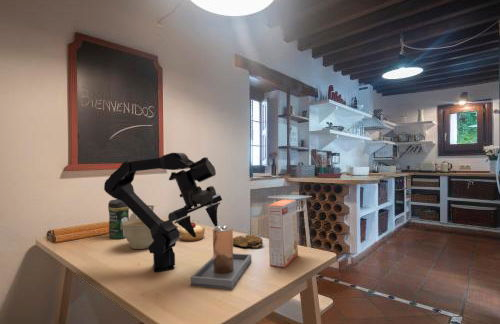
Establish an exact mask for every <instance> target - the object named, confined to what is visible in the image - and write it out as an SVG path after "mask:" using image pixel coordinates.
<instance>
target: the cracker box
mask: <svg viewBox="0 0 500 324" xmlns="http://www.w3.org/2000/svg"><path fill="white" fill-rule="evenodd" d="M297 217H298V216H297V199H285V198H284V199H281V200H278V201H276V202H273V203H270V204H268V205H267V220H268V221H267V223H268V225H267V227H268V251H269V266H271V267H277V268H286V267H287V266H288V265H289V264H290V263H291V262H292V261H294V259H295V258H296V257H297V256H298V255H299V247H298V221H297V220H298V219H297Z"/></svg>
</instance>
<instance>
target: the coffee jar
mask: <svg viewBox="0 0 500 324" xmlns="http://www.w3.org/2000/svg"><path fill="white" fill-rule="evenodd" d="M107 206H108V207H107V209H108V215H109V216H108V217H109V219H108V222H109V223H108V237H109V238H112V239H114V240H119V239H120V240H121V239H126V237H125V235H124V231H123V225H122V223H123V222H125V221H128V220H130V218H129V217H130V216H129V213H130V212H129V211H130V209H129V208H128V207H127V206H126V204H125V203H124V202H122V201H120V200H118V199H116V198H114V199H111V200H109V201H108V205H107Z"/></svg>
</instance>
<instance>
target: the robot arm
mask: <svg viewBox="0 0 500 324" xmlns="http://www.w3.org/2000/svg"><path fill="white" fill-rule="evenodd" d="M158 169H160V170H166V171H167V170H171V171H172V172H171V174H170V176H169V178H168V181H175V182H176V184H177V186H178V189H179V191H180V194H179V198H182V199H183V201H184V203H185V205H184V206H183V207H181V208H178V209H176V210H173V211H171V212H169V213H168V217H167V220H163V219H162V218H160V216H158V215H157V214H156V212H154V211H153V210H152V209H151V208H150V207H149V206H148V204H146V203H145V202H144V201H143V200H142V199H141V198H140V196H138V194H137V193H136V192H135V190H134V185H133V184H132V183H133V181H134V179H135V175H136V173H137V172H141V171H142V172H143V171H148V170H149V171H152V170H158ZM187 169H188V170H187ZM178 170H180V171H178ZM173 171H174V172H173ZM175 171H178V172H175ZM216 173H217V172H216V168H215V166H214V165H213V164H212V163H211V161H210V160H209V158H208V157H206V156H205V157H203V158H200V160H197V161H195V162H194V161H193V160H191V159H189V157H188V155H187V154H186V153H184V152H171V153H167V154H163V155H162V156H159V157H156V158H148V159H140V160H139V159H138V160H133V161H132V160H130V161H129V160H125V161H124V162H122V163H121V165H120V166H119V167H118V168H117V169H116V170H115V171H114V172H112V174H111V175H109V177H108V178H107V179H106V180H105V181H104V187H103V190H104V191H105V193H106V194H107V195H109V196H110V197H112V198H114V199H118V200H120V201H122V202H124V203H125V204H126V206H127V207H128V208H129V211H130V210H131V212H132V213H133V214H134V215H135V216H136V217H137V219H140V220H141V221H142V222H143V223H144V224H145V225H146V226H147V227H148V228H149V229H150V232H151V236H152V238H153V240H154V241H153V242H152V244H151V245H150V246H149V247H148V248H147V249H148V251H149V254H152V256H153V257H152V262H153V264H152V268H153V272H154V273H158V272H162V271H163V272H164V271H168V270H173V269H175V265H176V255H175V254H176V253H175V251H174V247H176V245H177V242H178V241H179V239H180V234H179V233H180V232H179V231H180V229H179V228H178V227H179V226H180V227H183V228H184V229H185V230H186V231H187V232H188V233H190V234H191V235H192V236H193V237H196V234H195V231H194V228H193V226H192V224H191V222H192V221H191V215H189V214H190V213H192V212H194V211H197V210H199V209H202V208H204V207H205V211H206V213H207V216H208V217H209V218H210V221H211V223H212V224H213V226H214V228H216V227H218V226H219V225H218V207H219V205H220V204H221V201H223V198H222V196H221V195H220V194H219V193H217V191H216V189H215V187H214V186H213V185H210V186H207V187H206V189H204V190H203V189H202V187H201V186H198V185H197V182H198V183H201V182H204V181H206V180H208V179H210V178H213V177H215V176H216ZM196 181H197V182H196ZM161 219H162V220H161ZM173 222H174V223H173ZM176 224H178V225H179V226H177V225H176Z"/></svg>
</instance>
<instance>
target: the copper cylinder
mask: <svg viewBox="0 0 500 324" xmlns="http://www.w3.org/2000/svg"><path fill="white" fill-rule="evenodd" d="M233 235H234V234H233V228H232V227H231V226H227V225H224V224H223V226H219V225H218V226H216V227H214V228H213V229H212V251H213V253H212V257H213V260H214V272H215V273H218V274H227V273H230V272H232V271H233V270H234V263H233V253H234V244H233V238H234V236H233Z"/></svg>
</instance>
